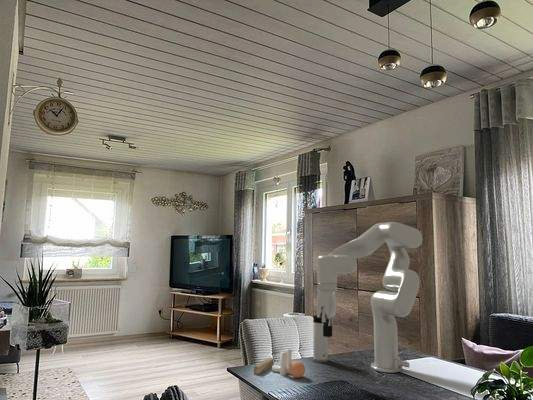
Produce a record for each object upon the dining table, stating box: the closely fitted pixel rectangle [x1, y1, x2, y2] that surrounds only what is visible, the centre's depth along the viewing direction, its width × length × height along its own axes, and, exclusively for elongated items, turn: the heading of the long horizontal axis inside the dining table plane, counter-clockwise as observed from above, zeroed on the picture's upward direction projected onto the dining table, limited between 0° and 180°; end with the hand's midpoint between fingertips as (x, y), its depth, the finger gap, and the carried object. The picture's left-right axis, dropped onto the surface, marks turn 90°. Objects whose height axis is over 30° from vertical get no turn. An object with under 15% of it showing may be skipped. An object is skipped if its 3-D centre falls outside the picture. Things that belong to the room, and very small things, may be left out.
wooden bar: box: [253, 357, 275, 376], centre depth 161 cm, size 2×14×3 cm, turn 153°
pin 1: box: [279, 351, 287, 377], centre depth 155 cm, size 2×2×8 cm
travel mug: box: [312, 314, 328, 363], centre depth 177 cm, size 6×7×20 cm
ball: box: [290, 360, 306, 379], centre depth 152 cm, size 6×6×6 cm
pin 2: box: [285, 348, 293, 368], centre depth 160 cm, size 2×2×8 cm
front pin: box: [271, 364, 291, 375], centre depth 158 cm, size 2×2×8 cm
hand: (327, 336), depth 151 cm, fingers closed
